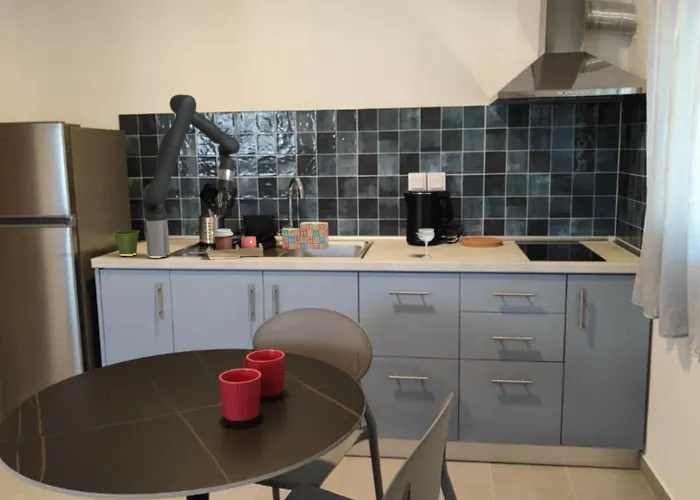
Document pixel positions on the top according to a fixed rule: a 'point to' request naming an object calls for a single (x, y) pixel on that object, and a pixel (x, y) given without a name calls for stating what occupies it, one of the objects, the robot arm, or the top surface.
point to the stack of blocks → (306, 236)
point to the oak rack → (236, 252)
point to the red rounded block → (248, 242)
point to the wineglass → (426, 238)
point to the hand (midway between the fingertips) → (221, 215)
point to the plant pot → (127, 241)
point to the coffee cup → (223, 239)
